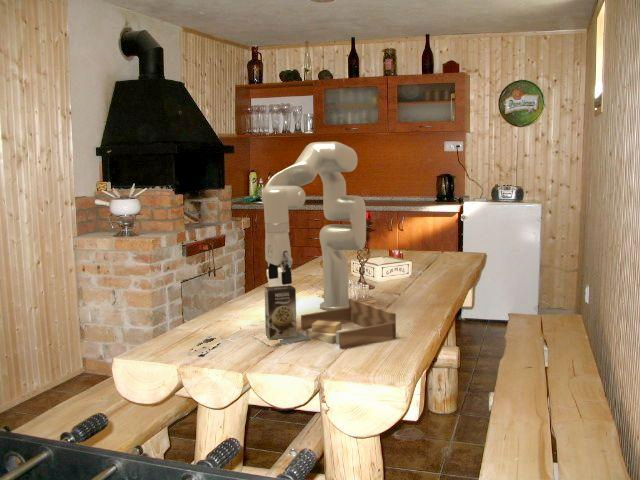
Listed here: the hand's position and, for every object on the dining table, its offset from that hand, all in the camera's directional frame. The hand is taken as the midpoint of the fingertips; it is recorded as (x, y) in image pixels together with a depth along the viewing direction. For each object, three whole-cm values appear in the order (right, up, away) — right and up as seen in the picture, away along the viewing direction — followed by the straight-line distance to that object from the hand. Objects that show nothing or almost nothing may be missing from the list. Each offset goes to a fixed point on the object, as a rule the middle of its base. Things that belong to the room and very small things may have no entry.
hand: (280, 281), depth 207 cm
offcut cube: (+20, -19, -6) cm, 29 cm away
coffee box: (0, -18, +2) cm, 18 cm away
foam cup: (-3, -12, +53) cm, 54 cm away
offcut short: (+15, -16, 0) cm, 22 cm away
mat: (0, -18, +2) cm, 18 cm away
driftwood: (-23, -21, -4) cm, 31 cm away
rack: (+22, -17, +4) cm, 28 cm away
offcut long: (+15, -19, 0) cm, 24 cm away
